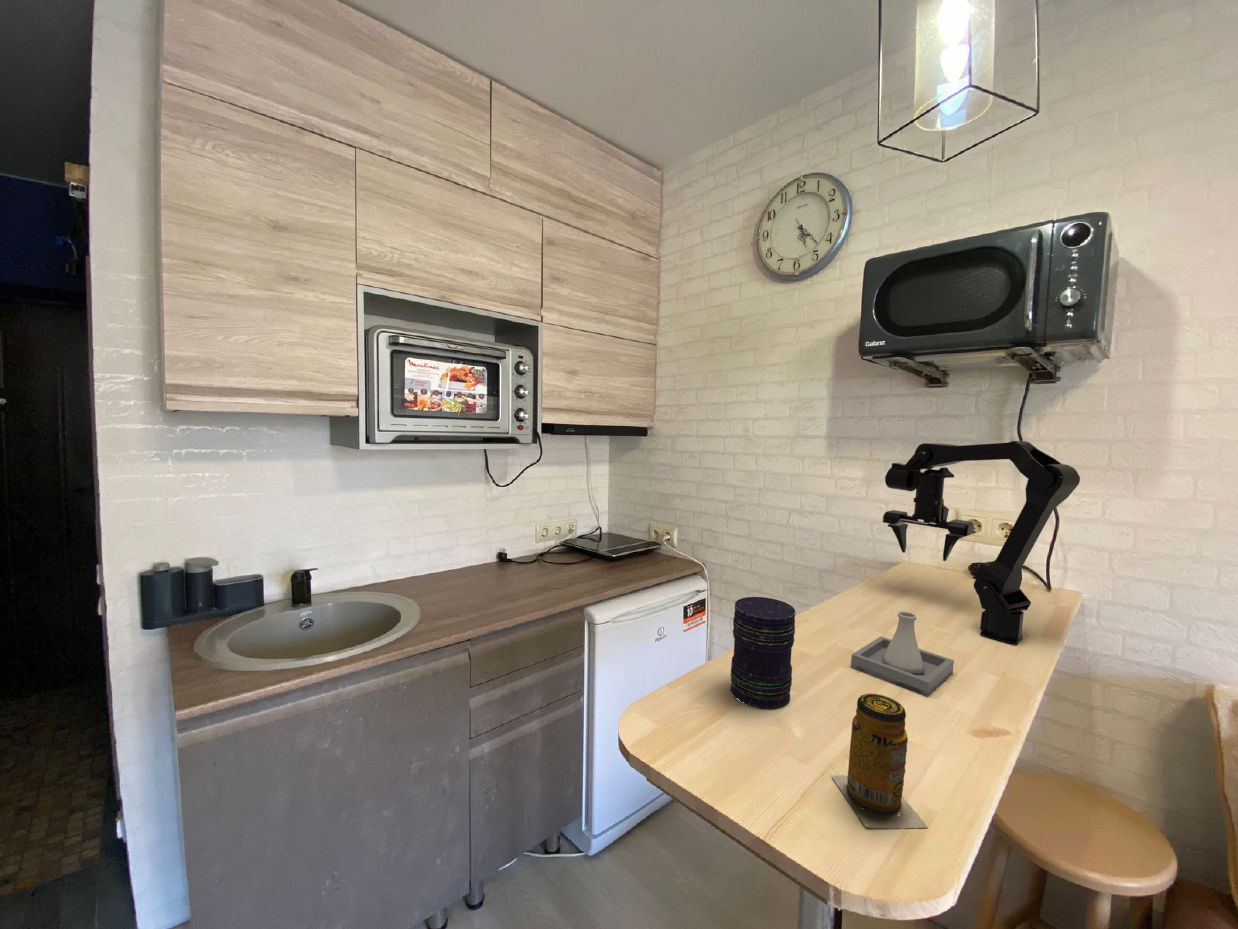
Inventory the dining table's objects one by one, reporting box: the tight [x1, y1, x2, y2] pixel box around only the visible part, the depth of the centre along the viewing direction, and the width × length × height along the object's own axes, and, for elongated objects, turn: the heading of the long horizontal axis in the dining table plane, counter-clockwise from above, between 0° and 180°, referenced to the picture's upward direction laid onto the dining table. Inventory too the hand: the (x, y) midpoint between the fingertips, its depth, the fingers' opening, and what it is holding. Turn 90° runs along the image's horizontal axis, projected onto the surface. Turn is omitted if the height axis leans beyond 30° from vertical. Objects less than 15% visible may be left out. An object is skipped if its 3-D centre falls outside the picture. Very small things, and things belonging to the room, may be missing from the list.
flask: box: [882, 610, 924, 674], centre depth 95 cm, size 7×7×10 cm
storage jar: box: [730, 596, 796, 711], centre depth 85 cm, size 10×10×15 cm
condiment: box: [831, 692, 929, 830], centre depth 62 cm, size 7×8×12 cm
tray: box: [850, 636, 955, 698], centre depth 95 cm, size 13×13×2 cm
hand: (923, 556), depth 128 cm, fingers open, 9 cm apart
